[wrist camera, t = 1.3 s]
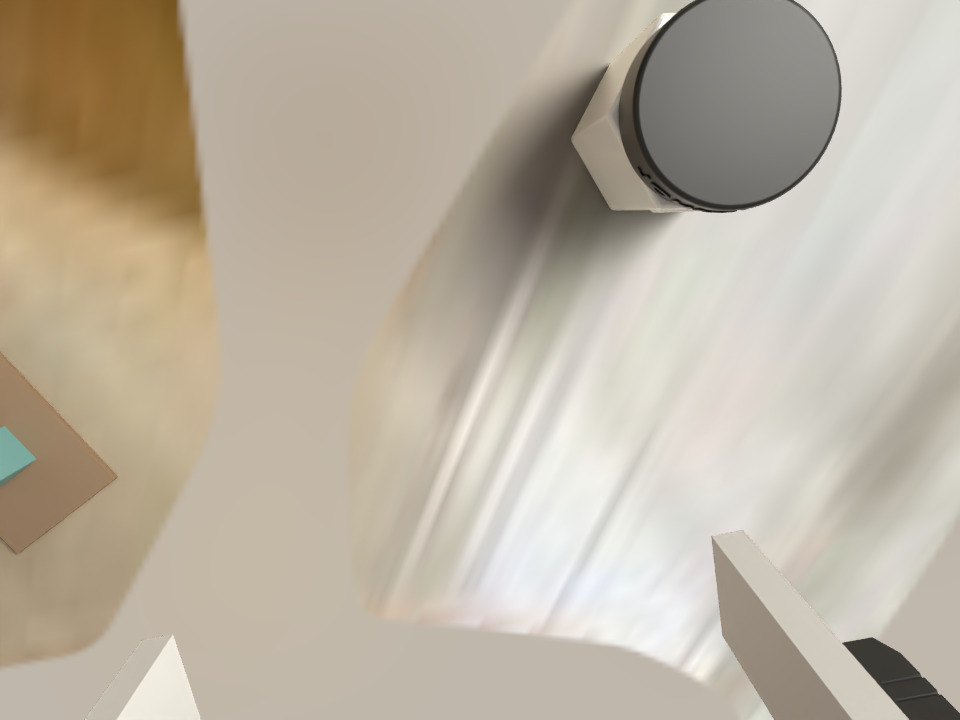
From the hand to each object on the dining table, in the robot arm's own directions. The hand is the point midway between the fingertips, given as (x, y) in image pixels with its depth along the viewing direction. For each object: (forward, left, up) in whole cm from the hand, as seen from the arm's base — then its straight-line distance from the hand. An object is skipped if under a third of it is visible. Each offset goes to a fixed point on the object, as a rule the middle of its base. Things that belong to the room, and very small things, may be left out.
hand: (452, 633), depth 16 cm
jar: (-5, +17, -25) cm, 30 cm away
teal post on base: (-13, -24, -24) cm, 36 cm away
